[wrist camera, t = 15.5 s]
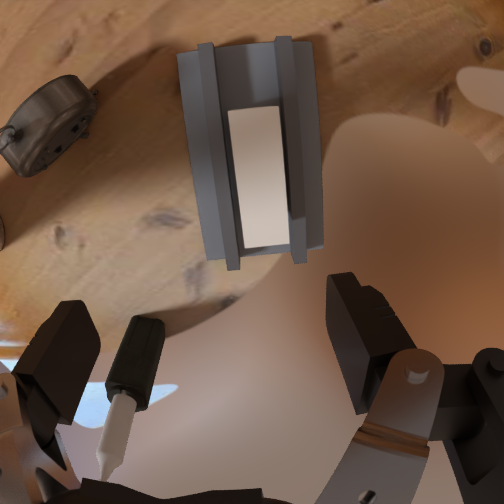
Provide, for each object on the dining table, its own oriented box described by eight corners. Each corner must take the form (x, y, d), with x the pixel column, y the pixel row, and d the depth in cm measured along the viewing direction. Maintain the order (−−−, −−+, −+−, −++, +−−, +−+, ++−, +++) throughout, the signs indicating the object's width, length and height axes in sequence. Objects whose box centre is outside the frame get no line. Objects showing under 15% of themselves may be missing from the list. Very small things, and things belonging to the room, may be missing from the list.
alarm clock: (96, 74, 28) (6, 68, 14) (123, 106, 30) (40, 114, 16) (41, 140, 31) (-50, 173, 16) (64, 169, 33) (-21, 217, 18)
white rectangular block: (244, 217, 35) (244, 248, 28) (231, 109, 30) (227, 111, 23) (279, 213, 35) (289, 243, 28) (269, 106, 30) (278, 106, 23)
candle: (164, 319, 43) (122, 483, 20) (164, 345, 45) (130, 498, 23) (130, 314, 42) (72, 468, 20) (132, 339, 45) (85, 486, 22)
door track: (207, 256, 39) (204, 273, 35) (178, 55, 28) (170, 49, 24) (321, 244, 38) (329, 260, 35) (309, 43, 28) (318, 35, 24)
